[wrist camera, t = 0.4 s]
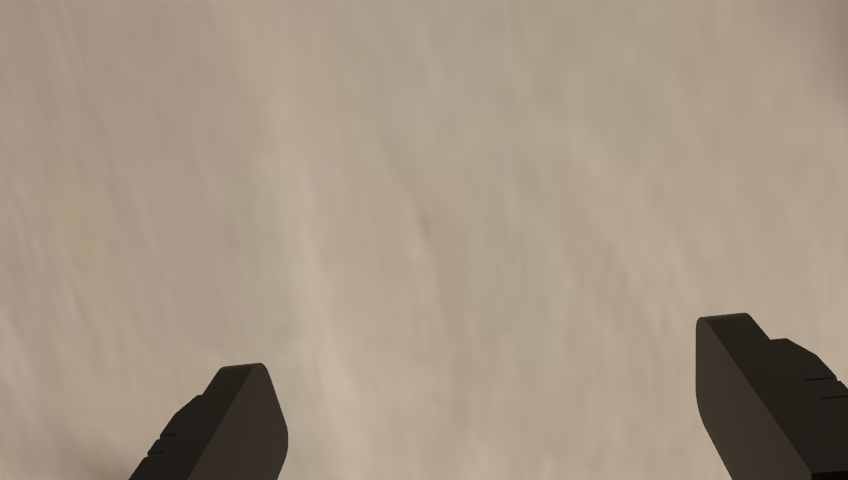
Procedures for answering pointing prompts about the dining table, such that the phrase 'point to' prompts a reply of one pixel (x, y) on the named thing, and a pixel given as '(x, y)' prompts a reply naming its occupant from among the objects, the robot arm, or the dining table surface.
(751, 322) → the robot arm
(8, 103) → the dining table surface
